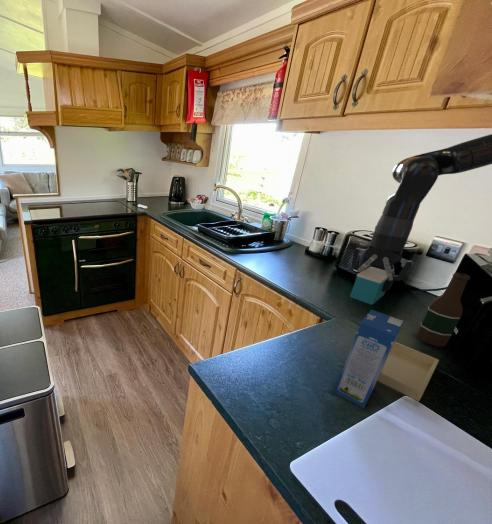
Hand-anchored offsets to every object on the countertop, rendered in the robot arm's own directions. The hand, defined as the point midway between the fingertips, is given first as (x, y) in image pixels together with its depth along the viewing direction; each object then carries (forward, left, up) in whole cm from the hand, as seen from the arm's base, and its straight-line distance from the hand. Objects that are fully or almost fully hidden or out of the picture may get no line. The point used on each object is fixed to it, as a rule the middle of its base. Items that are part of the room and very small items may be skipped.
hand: (370, 286), depth 86 cm
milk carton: (-9, +25, -19) cm, 33 cm away
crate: (-12, +6, -19) cm, 23 cm away
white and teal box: (0, 0, -3) cm, 3 cm away
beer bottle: (-16, -24, -19) cm, 35 cm away
